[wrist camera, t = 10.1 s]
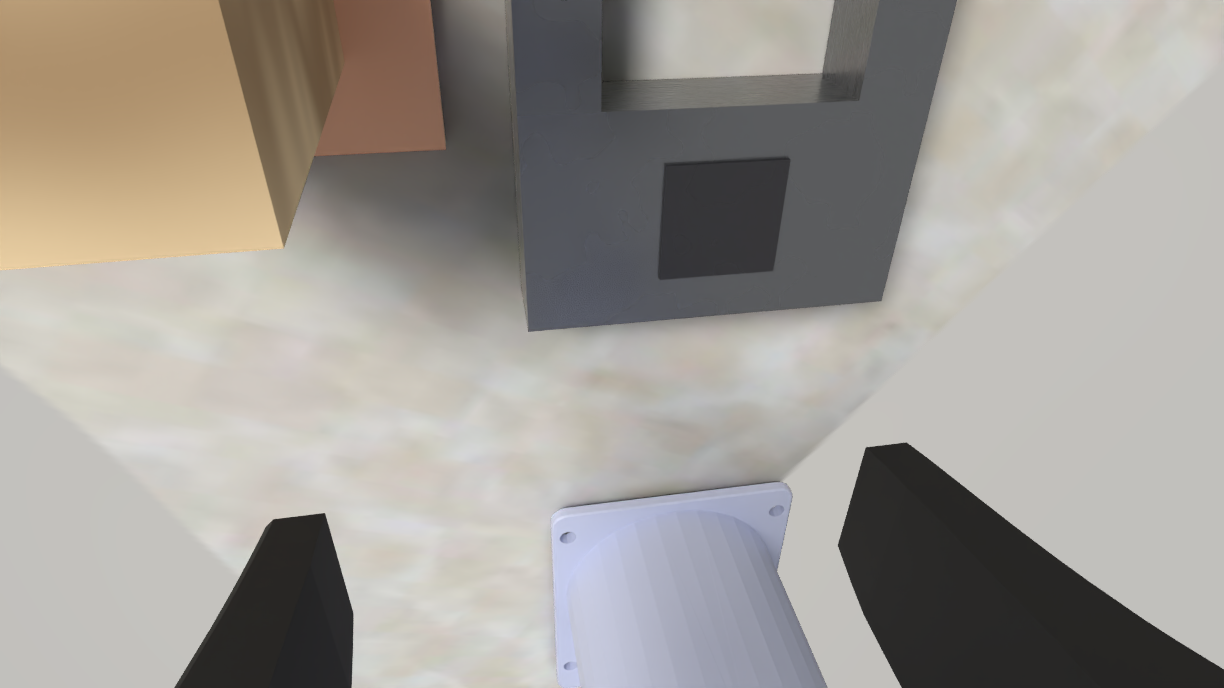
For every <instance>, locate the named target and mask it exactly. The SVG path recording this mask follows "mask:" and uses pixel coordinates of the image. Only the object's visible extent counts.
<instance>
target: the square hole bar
mask: <svg viewBox="0 0 1224 688" xmlns="http://www.w3.org/2000/svg"><path fill="white" fill-rule="evenodd" d="M956 2H957V0H835V2H834V8H833V14H832V20H831V26H830V32H829V38H828V44H827V49H826V55H825V61H824V67H823V73H822V74H797V75H770V76H744V77H717V78H690V79H664V80H637V81H611V82H602V0H505V14H506V31H507V49H508V67H509V84H510V102H511V119H512V137H513V155H514V172H515V190H516V207H517V225H518V243H519V260H520V278H521V291H522V297H523V303H524V308H525V314H526V320H527V326H528V332H530V331H542V330H553V329H565V328H576V327H588V326H599V325H611V324H622V323H634V322H645V321H657V320H668V319H680V318H691V317H703V316H714V315H726V314H738V313H749V312H761V311H772V310H784V309H795V308H807V307H818V306H830V305H841V304H853V303H864V302H876V301H881V300H882V296H883V292H884V288H885V284H886V280H887V276H888V272H889V268H890V264H891V260H892V256H893V252H894V248H895V244H896V240H897V237H898V233H899V229H900V225H901V221H902V217H903V213H904V209H905V205H906V201H907V197H908V193H909V189H910V185H911V181H912V177H913V173H914V169H915V165H916V161H917V157H918V153H919V149H920V145H921V141H922V137H923V133H924V129H925V125H926V121H927V117H928V113H929V109H930V105H931V101H932V97H933V93H934V89H935V85H936V81H937V77H938V74H939V70H940V66H941V62H942V58H943V54H944V50H945V46H946V42H947V38H948V34H949V30H950V26H951V22H952V18H953V14H954V10H955V6H956Z"/></svg>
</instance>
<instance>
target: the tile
mask: <svg viewBox="0 0 1224 688" xmlns="http://www.w3.org/2000/svg"><path fill="white" fill-rule="evenodd" d="M333 2H334V7H335V13H336V18H337V24H338V29H339V34H340V40H341V45H342V51H343V56H344V61H345V63H344V66H343V69H342V73H341V76H340V79H339V82H338V85H337V88H336V91H335V94H334V97H333V100H332V103H331V106H330V109H329V112H328V115H327V118H326V121H325V124H324V127H323V130H322V133H321V137H320V140H319V143H318V146H317V149H316V152H315V155H314V156H328V155H348V154H368V153H388V152H408V151H428V150H446V138H445V129H444V120H443V110H442V101H441V92H440V83H439V73H438V64H437V55H436V45H435V36H434V27H433V17H432V8H431V0H333Z"/></svg>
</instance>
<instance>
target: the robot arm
mask: <svg viewBox="0 0 1224 688" xmlns="http://www.w3.org/2000/svg"><path fill="white" fill-rule="evenodd" d="M791 502H792V492H791V490H790V488H789V487H788V486H787V484H786V483H783V482H772V483H764V484H756V485H748V486H740V487H732V488H723V489H715V490H707V491H699V492H691V493H683V494H675V495H666V496H658V497H650V498H642V499H634V500H626V501H618V502H609V503H601V504H593V505H585V506H577V507H569V508H563V509H560V510H558V511H557V512H555V513H554V514H553V515H552V517H551V544H552V569H553V594H554V620H555V645H556V670H557V681H558V684H559V685H560V686H561V687H563V688H575V687H581V688H827V685H826V683H825V681H824V678H823V677H822V674H821V672H820V669H819V667H818V665H817V662H816V660H815V658H814V655H813V653H812V651H811V648H810V646H809V644H808V642H807V639H806V637H805V635H804V633H803V630H802V628H801V626H800V623H799V621H798V619H797V616H796V614H795V612H794V609H793V607H792V605H791V603H790V600H789V598H788V596H787V594H786V591H785V589H784V586H783V584H782V582H781V580H780V577H779V575H778V573H777V568H778V563H779V559H780V554H781V549H782V545H783V540H784V535H785V530H786V526H787V521H788V516H789V511H790V506H791ZM774 506H775V507H774ZM567 532H571V533H568V534H564V533H567ZM838 547H839V550H840V552H841V555H842V558H843V561H844V564H845V566H846V569H847V572H848V575H849V577H850V580H851V583H852V586H853V588H854V591H855V593H856V596H857V599H858V601H859V604H860V606H861V609H862V611H863V614H864V616H865V618H866V620H867V621H868V624H869V626H870V627H871V630H872V632H873V633H874V635H875V637H876V639H877V641H878V643H879V645H880V647H881V649H882V651H883V653H884V654H885V657H886V658H887V660H888V662H889V664H890V666H891V668H892V670H893V672H894V674H895V676H896V678H897V679H898V681H899V683H900V685H901V687H902V688H1224V669H1222V668H1220V667H1219V666H1217V665H1216V664H1214V663H1212V662H1210V661H1209V660H1207V659H1206V658H1204V657H1202V656H1201V655H1199V654H1197V653H1196V652H1194V651H1193V650H1191V649H1189V648H1188V647H1186V646H1185V645H1183V644H1181V643H1180V642H1178V641H1176V640H1175V639H1173V638H1172V637H1170V636H1169V635H1167V634H1165V633H1164V632H1162V631H1161V630H1159V629H1157V628H1156V627H1155V626H1153V625H1152V624H1150V623H1148V622H1147V621H1145V620H1144V619H1142V618H1141V617H1139V616H1138V615H1137V614H1135V613H1133V612H1132V611H1131V610H1129V609H1128V608H1126V607H1125V606H1123V605H1122V604H1121V603H1119V602H1118V601H1116V600H1115V599H1113V598H1112V597H1110V596H1109V595H1107V594H1106V593H1105V592H1103V591H1102V590H1100V589H1099V588H1097V587H1096V586H1094V585H1093V584H1091V583H1090V582H1089V581H1087V580H1086V579H1084V578H1083V577H1082V576H1080V575H1079V574H1078V573H1076V572H1075V571H1074V570H1072V569H1071V568H1069V567H1068V566H1067V565H1065V564H1064V563H1062V562H1061V561H1060V560H1058V559H1057V558H1056V557H1054V556H1053V555H1052V554H1050V553H1049V552H1048V551H1046V550H1045V549H1044V548H1042V547H1041V546H1040V545H1038V544H1037V543H1036V542H1034V541H1033V540H1032V539H1030V538H1029V537H1028V536H1026V535H1025V534H1024V533H1022V532H1021V531H1020V530H1019V529H1017V528H1016V527H1015V526H1013V525H1012V524H1011V523H1010V522H1008V521H1007V520H1005V519H1004V518H1003V517H1002V516H1000V515H999V514H998V513H997V512H995V511H994V510H993V509H992V508H990V507H989V506H988V505H986V504H985V503H984V502H982V501H981V500H980V499H979V498H977V497H976V496H975V495H974V494H972V493H971V492H970V491H969V490H967V489H966V488H965V487H964V486H962V485H961V484H960V483H958V482H957V481H956V480H955V479H953V478H952V477H951V476H949V475H948V474H947V473H946V472H945V471H943V470H942V469H941V468H939V467H938V466H937V465H936V464H934V463H933V462H932V461H930V460H929V459H928V458H927V457H925V456H924V455H923V454H921V453H920V452H919V451H917V450H916V449H915V448H913V447H912V446H911V445H909V444H908V443H899V444H891V445H884V446H875V447H867V448H866V449H865V453H864V456H863V459H862V463H861V466H860V470H859V473H858V477H857V480H856V484H855V488H854V491H853V495H852V498H851V501H850V505H849V508H848V512H847V515H846V519H845V522H844V526H843V529H842V533H841V537H840V540H839V544H838ZM352 658H353V611H352V607H351V604H350V600H349V597H348V593H347V589H346V586H345V582H344V579H343V575H342V572H341V568H340V565H339V561H338V558H337V554H336V551H335V547H334V544H333V540H332V537H331V533H330V529H329V526H328V522H327V519H326V515H325V513H322V514H314V515H306V516H298V517H289V518H281V519H273V520H272V521H271V522H270V523H269V524H268V525H267V526H266V528H265V530H264V532H263V534H262V536H261V538H260V540H259V542H258V544H257V546H256V547H255V549H254V551H253V553H252V555H251V557H250V559H249V561H248V563H247V565H246V566H245V568H244V570H243V572H242V574H241V576H240V578H239V579H238V581H237V583H236V585H235V587H234V588H233V590H232V592H231V594H230V596H229V597H228V599H227V601H226V603H225V604H224V606H223V608H222V610H221V611H220V613H219V615H218V617H217V619H216V620H215V622H214V624H213V625H212V627H211V629H210V631H209V632H208V634H207V635H206V637H205V639H204V640H203V642H202V643H201V645H200V647H199V648H198V650H197V652H196V653H195V655H194V657H193V658H192V660H191V661H190V663H189V665H188V666H187V668H186V670H185V671H184V673H183V675H182V676H181V678H180V679H179V681H178V683H177V684H176V686H175V688H351V685H352Z"/></svg>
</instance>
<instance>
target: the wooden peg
mask: <svg viewBox="0 0 1224 688" xmlns="http://www.w3.org/2000/svg"><path fill="white" fill-rule="evenodd" d="M344 63H345V61H344V56H343V51H342V45H341V40H340V34H339V29H338V24H337V18H336V13H335V7H334V2H333V0H0V270H11V269H24V268H37V267H50V266H63V265H76V264H89V263H102V262H115V261H128V260H141V259H153V258H166V257H179V256H192V255H205V254H218V253H231V252H244V251H257V250H270V249H283V248H284V246H285V243H286V240H287V237H288V234H289V231H290V228H291V225H292V222H293V219H294V216H295V213H296V210H297V207H298V204H299V201H300V198H301V194H302V191H303V188H304V185H305V182H306V179H307V176H308V173H309V170H310V167H311V164H312V161H313V158H314V155H315V152H316V149H317V146H318V143H319V140H320V137H321V133H322V130H323V127H324V124H325V121H326V118H327V115H328V112H329V109H330V106H331V103H332V100H333V97H334V94H335V91H336V88H337V85H338V82H339V79H340V76H341V73H342V69H343V66H344Z"/></svg>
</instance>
